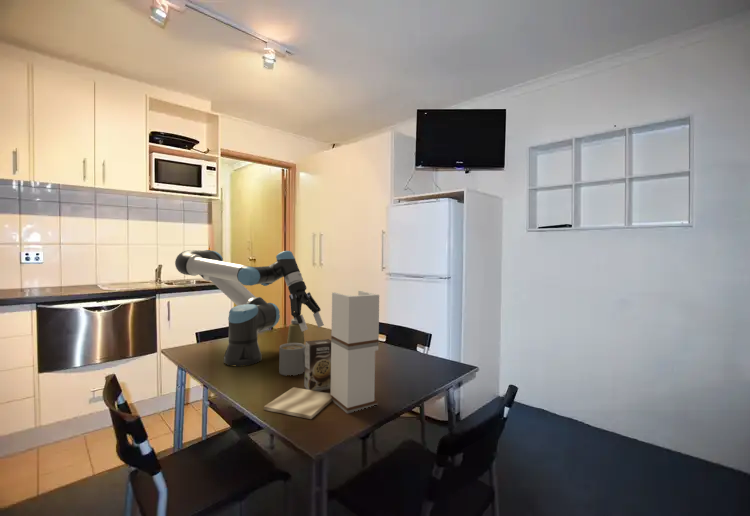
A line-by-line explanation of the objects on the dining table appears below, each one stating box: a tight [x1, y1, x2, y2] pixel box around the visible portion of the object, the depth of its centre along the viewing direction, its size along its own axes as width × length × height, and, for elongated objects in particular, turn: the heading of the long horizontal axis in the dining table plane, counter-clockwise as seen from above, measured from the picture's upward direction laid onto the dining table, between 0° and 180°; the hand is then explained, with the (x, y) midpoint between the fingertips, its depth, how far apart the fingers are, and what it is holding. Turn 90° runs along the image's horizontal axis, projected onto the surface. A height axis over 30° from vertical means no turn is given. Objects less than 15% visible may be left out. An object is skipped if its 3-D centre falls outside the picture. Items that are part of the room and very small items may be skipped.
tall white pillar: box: [330, 290, 380, 414], centre depth 111 cm, size 11×11×35 cm
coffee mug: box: [278, 343, 306, 377], centre depth 138 cm, size 13×10×10 cm
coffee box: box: [303, 338, 331, 392], centre depth 123 cm, size 9×6×16 cm
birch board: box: [263, 387, 333, 420], centre depth 110 cm, size 16×16×1 cm
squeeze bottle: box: [286, 317, 305, 345], centre depth 169 cm, size 8×8×18 cm
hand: (313, 328), depth 151 cm, fingers open, 13 cm apart
